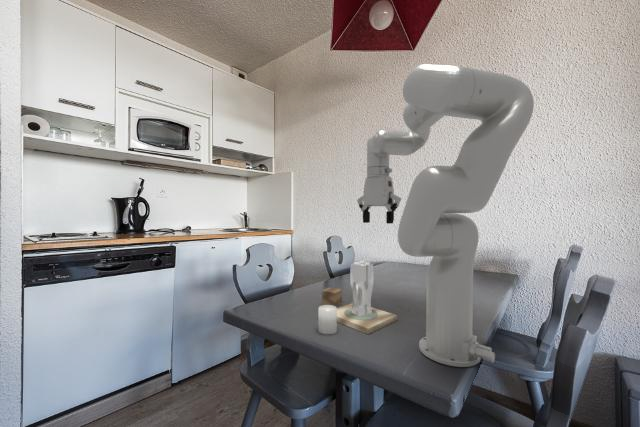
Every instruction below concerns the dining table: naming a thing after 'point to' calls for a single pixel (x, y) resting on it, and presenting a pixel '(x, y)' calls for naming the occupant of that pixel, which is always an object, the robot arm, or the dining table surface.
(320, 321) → the white short cylinder
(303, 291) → the dining table surface
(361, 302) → the beer glass
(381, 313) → the birch board
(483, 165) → the robot arm
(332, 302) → the walnut block
